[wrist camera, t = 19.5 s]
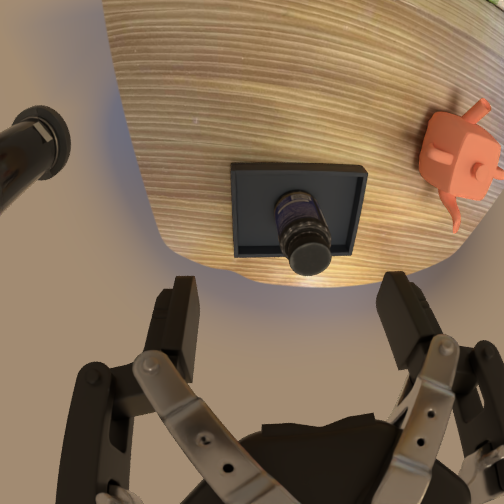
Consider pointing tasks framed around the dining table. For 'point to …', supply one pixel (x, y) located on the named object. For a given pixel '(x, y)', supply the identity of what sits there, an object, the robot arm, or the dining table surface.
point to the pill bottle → (302, 233)
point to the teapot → (460, 157)
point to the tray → (283, 181)
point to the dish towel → (498, 3)
